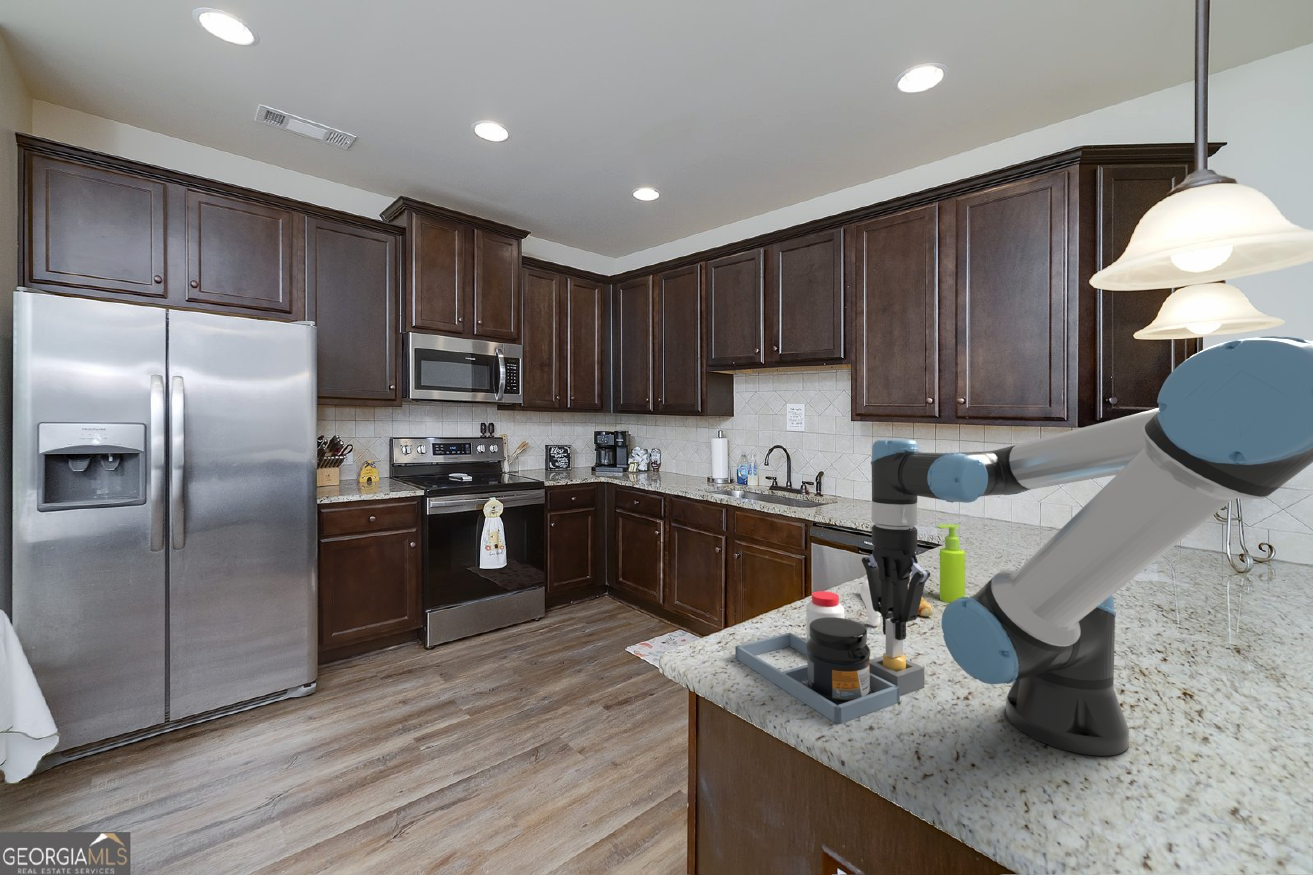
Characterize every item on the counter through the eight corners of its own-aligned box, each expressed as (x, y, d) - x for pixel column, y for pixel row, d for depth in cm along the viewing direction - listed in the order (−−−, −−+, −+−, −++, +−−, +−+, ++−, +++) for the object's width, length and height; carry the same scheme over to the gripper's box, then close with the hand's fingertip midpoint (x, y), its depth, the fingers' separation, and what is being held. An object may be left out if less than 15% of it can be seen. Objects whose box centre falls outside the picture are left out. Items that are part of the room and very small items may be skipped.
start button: (910, 676, 98) (910, 658, 98) (896, 681, 96) (896, 662, 96) (892, 668, 101) (892, 650, 101) (878, 673, 99) (878, 654, 99)
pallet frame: (899, 702, 92) (899, 687, 92) (837, 724, 86) (837, 708, 85) (790, 644, 116) (790, 632, 116) (735, 658, 110) (735, 646, 110)
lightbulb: (875, 620, 130) (875, 574, 129) (894, 629, 124) (894, 581, 124) (854, 623, 128) (854, 576, 127) (872, 632, 122) (872, 584, 122)
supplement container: (880, 710, 90) (880, 638, 89) (815, 710, 90) (815, 638, 89) (857, 680, 100) (857, 615, 100) (800, 680, 100) (799, 615, 100)
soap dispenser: (931, 597, 146) (931, 522, 145) (955, 596, 146) (955, 522, 146) (945, 604, 140) (945, 527, 139) (970, 603, 141) (970, 526, 140)
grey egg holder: (924, 687, 97) (924, 667, 97) (897, 696, 94) (897, 676, 94) (891, 671, 103) (891, 653, 103) (865, 679, 100) (865, 661, 100)
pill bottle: (847, 655, 110) (847, 602, 110) (807, 653, 112) (807, 600, 112) (842, 640, 118) (841, 590, 118) (805, 638, 120) (805, 588, 119)
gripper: (941, 529, 94) (941, 664, 94) (879, 517, 105) (879, 638, 106) (911, 533, 90) (911, 674, 91) (850, 521, 102) (851, 646, 102)
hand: (894, 654), depth 98 cm, fingers closed
